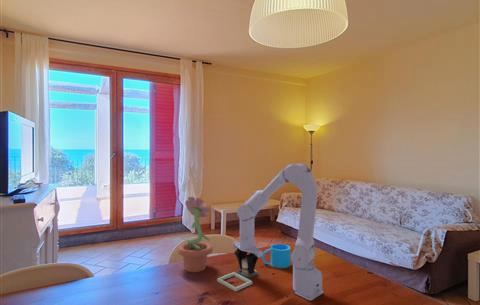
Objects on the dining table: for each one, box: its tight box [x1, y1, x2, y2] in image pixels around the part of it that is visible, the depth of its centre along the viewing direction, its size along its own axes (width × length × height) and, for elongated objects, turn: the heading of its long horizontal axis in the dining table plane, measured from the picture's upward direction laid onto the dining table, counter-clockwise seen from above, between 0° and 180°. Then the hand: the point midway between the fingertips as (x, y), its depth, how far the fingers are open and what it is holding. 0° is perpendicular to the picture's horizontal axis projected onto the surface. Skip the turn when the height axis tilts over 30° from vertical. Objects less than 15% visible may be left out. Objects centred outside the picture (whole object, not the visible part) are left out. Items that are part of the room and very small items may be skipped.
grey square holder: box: [235, 269, 259, 280], centre depth 107 cm, size 6×6×2 cm
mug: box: [261, 243, 291, 269], centre depth 117 cm, size 12×8×8 cm
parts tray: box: [216, 271, 253, 292], centre depth 100 cm, size 10×8×2 cm
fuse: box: [242, 258, 252, 276], centre depth 107 cm, size 4×4×6 cm
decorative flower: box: [177, 196, 213, 273], centre depth 113 cm, size 15×14×30 cm
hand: (246, 270), depth 107 cm, fingers open, 4 cm apart
